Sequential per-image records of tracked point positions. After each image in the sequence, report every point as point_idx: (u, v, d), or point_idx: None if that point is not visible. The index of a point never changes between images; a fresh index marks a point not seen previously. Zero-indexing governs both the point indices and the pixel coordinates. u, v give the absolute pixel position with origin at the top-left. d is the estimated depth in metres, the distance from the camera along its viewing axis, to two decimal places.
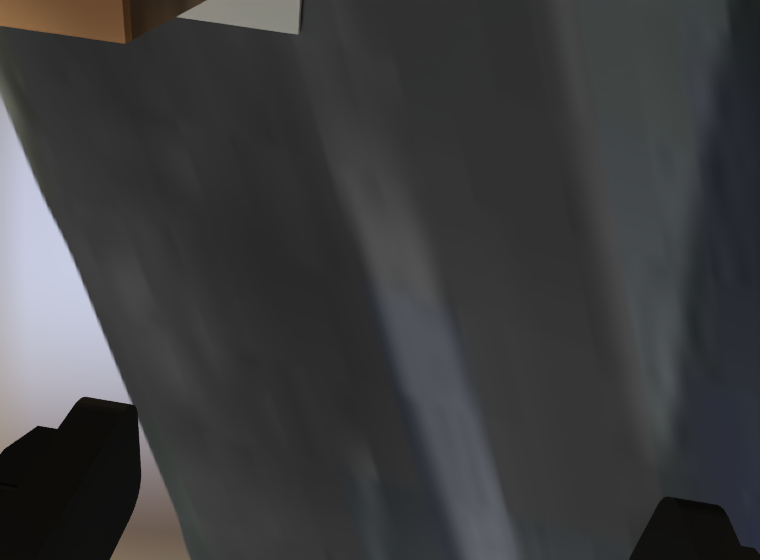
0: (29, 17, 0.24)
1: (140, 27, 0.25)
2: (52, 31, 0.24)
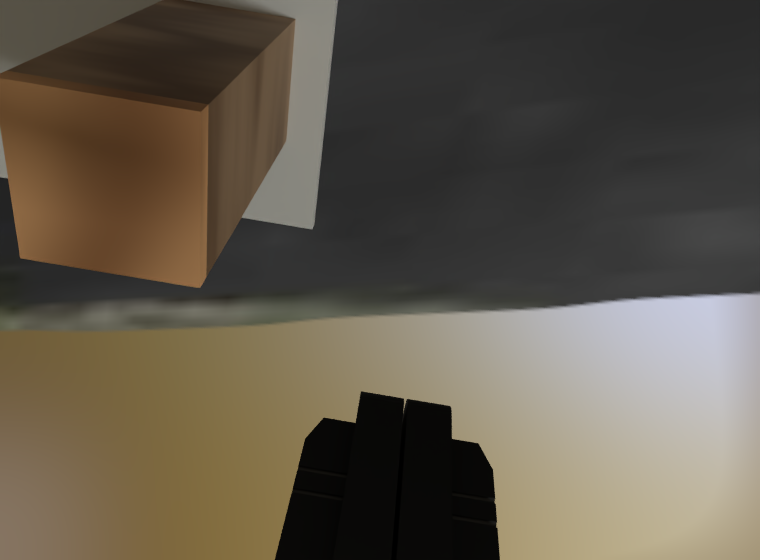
0: (184, 234, 0.18)
1: (207, 93, 0.17)
2: (198, 210, 0.17)
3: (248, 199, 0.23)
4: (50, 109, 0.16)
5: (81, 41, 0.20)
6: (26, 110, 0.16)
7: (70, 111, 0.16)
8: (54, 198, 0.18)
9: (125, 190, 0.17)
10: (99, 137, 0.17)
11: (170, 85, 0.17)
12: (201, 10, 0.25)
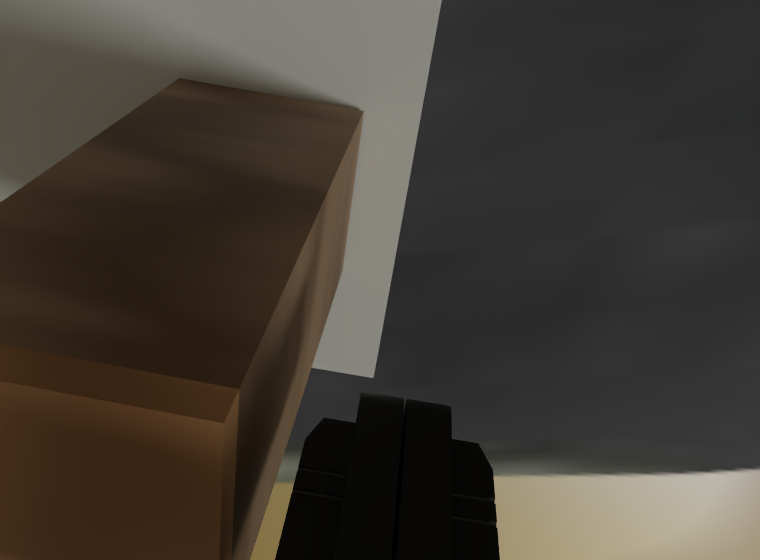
0: None
1: (236, 344, 0.09)
2: None
3: (295, 413, 0.15)
4: None
5: (20, 199, 0.11)
6: None
7: None
8: None
9: (77, 529, 0.09)
10: (20, 450, 0.08)
11: (167, 325, 0.09)
12: (226, 102, 0.17)
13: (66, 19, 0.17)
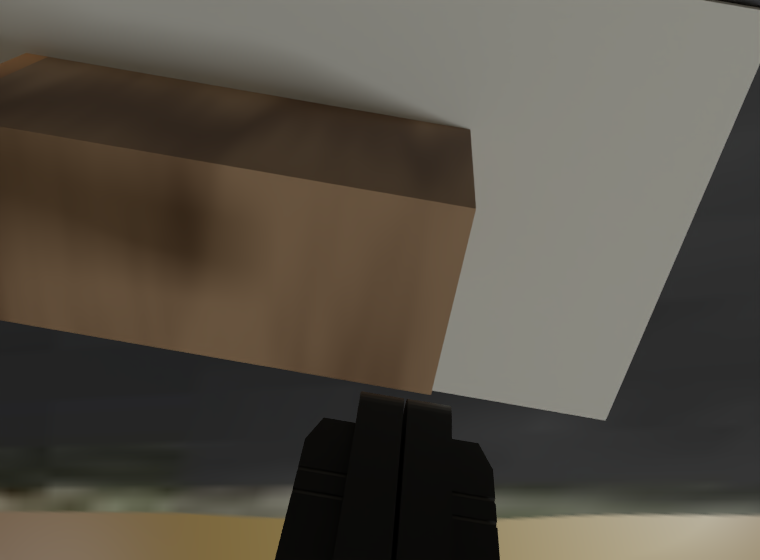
0: None
1: None
2: None
3: (158, 339, 0.16)
4: None
5: (175, 81, 0.18)
6: None
7: None
8: None
9: None
10: None
11: (3, 103, 0.15)
12: (420, 142, 0.17)
13: (367, 72, 0.17)
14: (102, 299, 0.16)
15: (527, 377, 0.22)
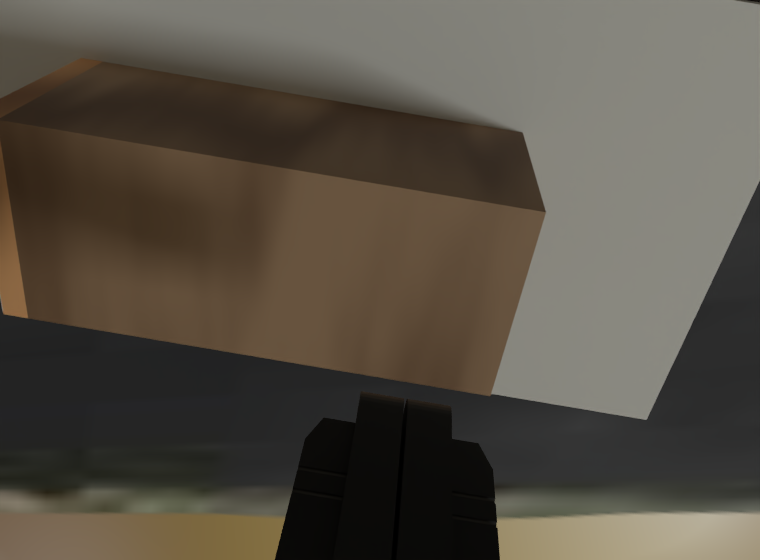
0: None
1: (43, 121, 0.14)
2: None
3: (221, 342, 0.16)
4: None
5: (230, 85, 0.18)
6: None
7: None
8: None
9: None
10: None
11: (71, 109, 0.15)
12: (477, 146, 0.17)
13: (422, 76, 0.18)
14: (166, 303, 0.16)
15: (570, 377, 0.22)
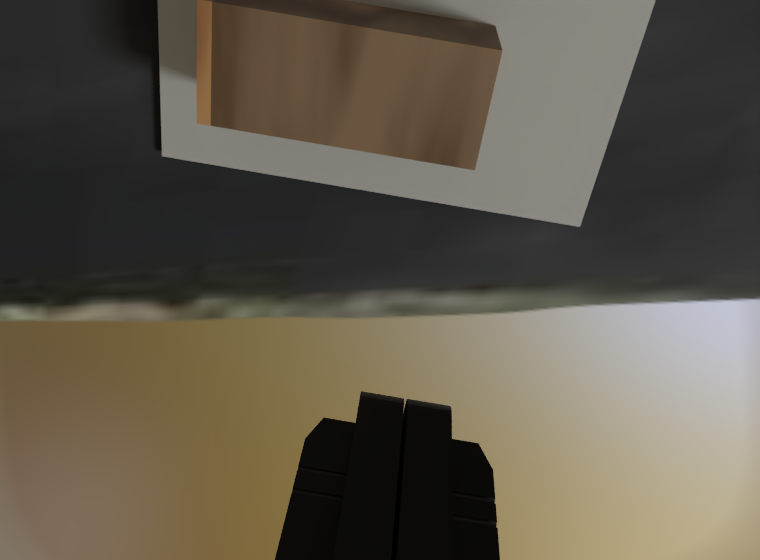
0: None
1: (234, 3, 0.26)
2: (197, 66, 0.28)
3: (321, 138, 0.29)
4: None
5: None
6: None
7: None
8: None
9: None
10: None
11: (244, 0, 0.27)
12: (467, 28, 0.29)
13: None
14: (292, 113, 0.28)
15: (529, 196, 0.34)
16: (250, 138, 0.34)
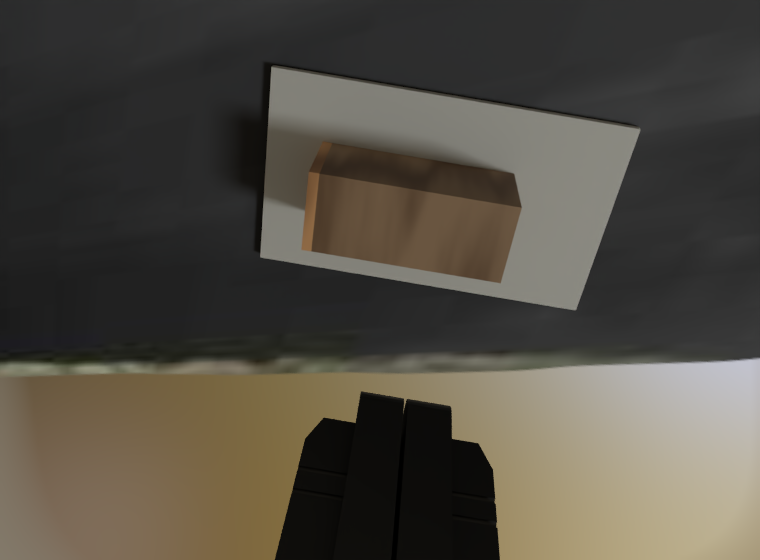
0: None
1: (334, 174, 0.38)
2: (305, 213, 0.39)
3: (390, 261, 0.40)
4: None
5: (388, 153, 0.42)
6: None
7: None
8: None
9: None
10: None
11: (339, 168, 0.39)
12: (495, 180, 0.40)
13: (471, 150, 0.41)
14: (371, 244, 0.40)
15: (538, 288, 0.46)
16: None
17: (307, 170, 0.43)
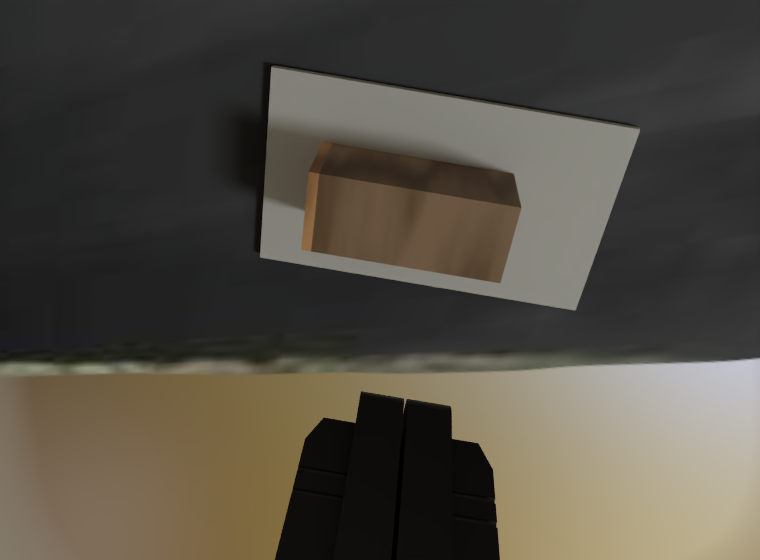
0: None
1: (334, 174, 0.38)
2: None
3: (390, 261, 0.40)
4: None
5: (388, 153, 0.42)
6: None
7: None
8: None
9: None
10: None
11: (339, 168, 0.39)
12: (495, 180, 0.40)
13: (471, 150, 0.41)
14: (370, 244, 0.40)
15: (537, 288, 0.46)
16: None
17: (307, 170, 0.43)
